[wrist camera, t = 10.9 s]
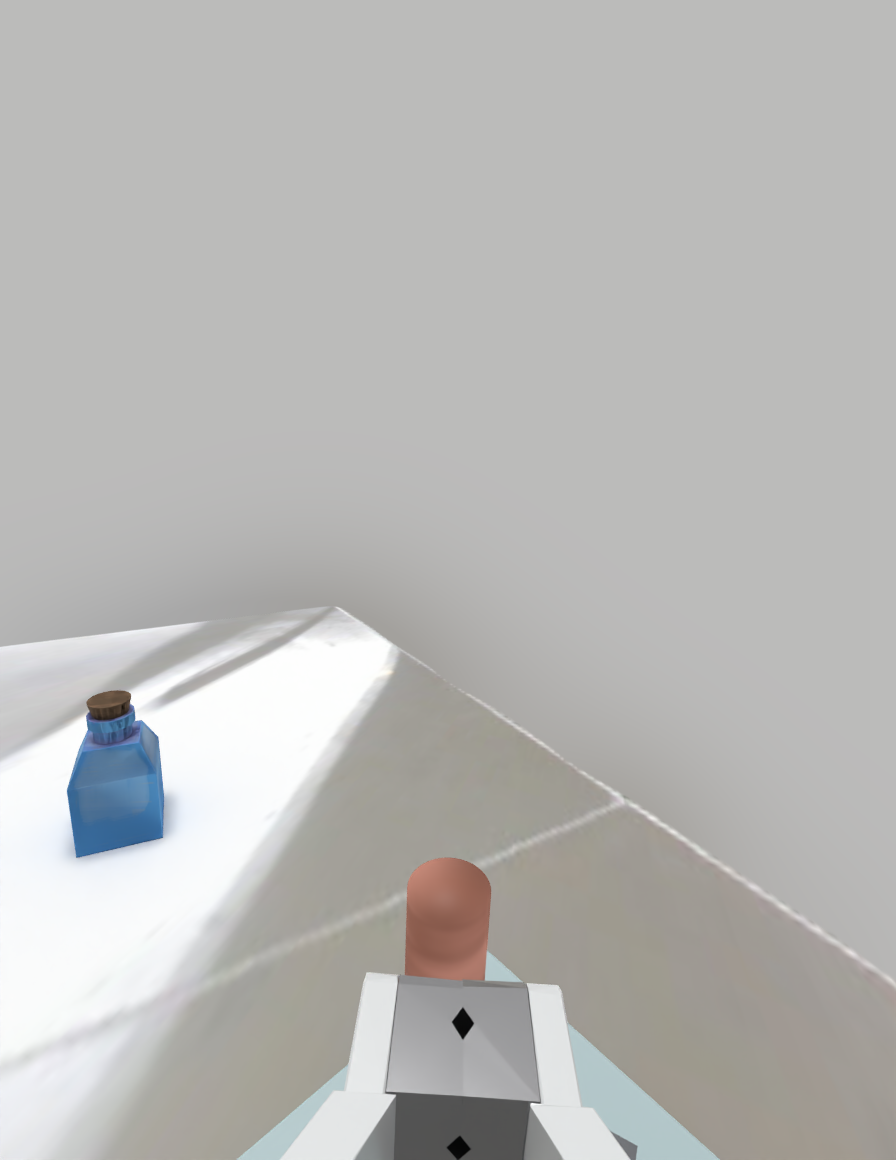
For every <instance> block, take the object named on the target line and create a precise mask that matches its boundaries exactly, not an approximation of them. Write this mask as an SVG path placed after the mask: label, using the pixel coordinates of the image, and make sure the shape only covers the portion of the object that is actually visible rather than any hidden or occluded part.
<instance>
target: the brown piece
mask: <svg viewBox="0 0 896 1160" xmlns="http://www.w3.org/2000/svg"><path fill="white" fill-rule="evenodd" d="M490 901H491V886H490V883H489V881H488V879H487V877H486V875H485V874H484V873H483V872H482V871H481V870H480V869H479V868H478V867H476V866H475V865H473V864H471V863H469V862H467V861H464V860H461V859H456V858H438V859H434V860H430V861H428V862H426V863H424V864H422V865H421V866H419V867H418V868H417V869H416V870H415V871H414V872H413V873H412V875H411V877H410V879H409V881H408V886H407V918H406V953H405V975H408V976H418V977H428V978H439V979H449V980H460V981H462V979H465V980H485V970H486V956H487V942H488V928H489V915H490Z"/></svg>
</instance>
